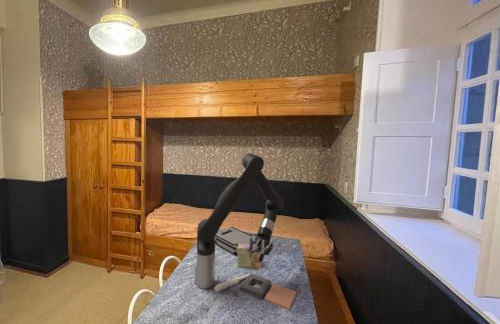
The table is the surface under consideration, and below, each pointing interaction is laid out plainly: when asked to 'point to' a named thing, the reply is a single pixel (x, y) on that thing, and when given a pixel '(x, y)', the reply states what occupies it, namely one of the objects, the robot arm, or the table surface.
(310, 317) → the table surface
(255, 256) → the oak block
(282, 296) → the terracotta tile
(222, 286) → the toothed blade
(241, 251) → the box
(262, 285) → the pocket frame
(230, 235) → the game console
